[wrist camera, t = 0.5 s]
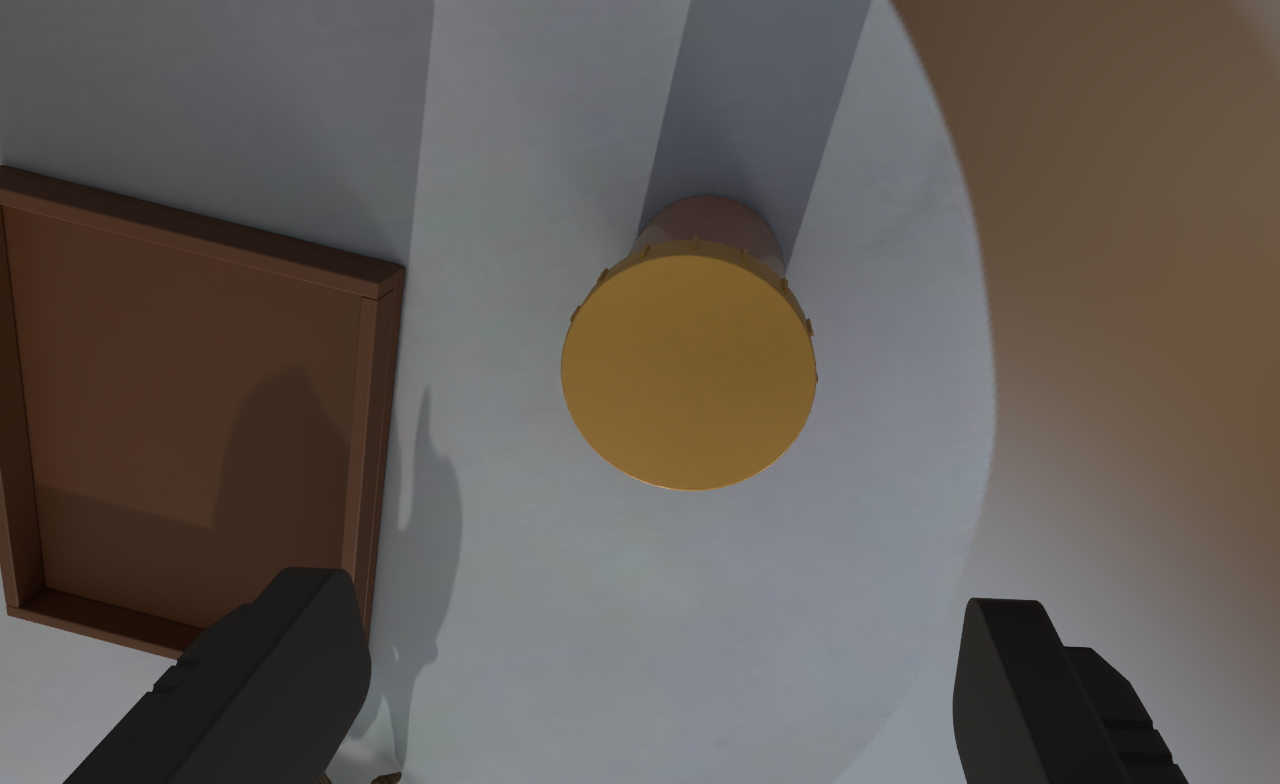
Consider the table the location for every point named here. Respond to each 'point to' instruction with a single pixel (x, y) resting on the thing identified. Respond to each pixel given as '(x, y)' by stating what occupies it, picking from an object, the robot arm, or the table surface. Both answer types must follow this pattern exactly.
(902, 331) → the table surface
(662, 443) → the jar lid
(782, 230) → the table surface
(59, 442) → the tray
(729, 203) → the jar
